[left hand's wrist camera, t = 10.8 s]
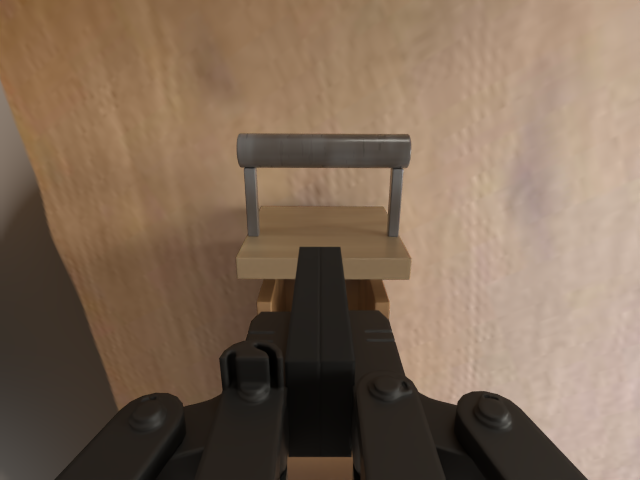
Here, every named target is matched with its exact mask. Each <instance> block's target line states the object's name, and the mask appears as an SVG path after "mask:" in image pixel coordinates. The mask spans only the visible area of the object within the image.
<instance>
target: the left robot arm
mask: <svg viewBox="0 0 640 480" xmlns="http://www.w3.org/2000/svg"><path fill="white" fill-rule="evenodd" d="M219 360H220V369H221V379H222V388H223V391H222V394H220V395H219V396H217V397H215V398H213V399H211V400H208V401H205V402H201V403H197V404H193V405H189V406H185V407H183V403H182V402H181V401H180V400H179V399H178V397H176V396H174V395H171V394H169V393H153V394H149V395H145V396H142V397H140V398H137V399H135V400H133V401H131V402H130V403H128V404H127V405H126V406H125V407H123V408H122V409H121V410H120V411H119V412H118V413H117V414H116V415H115V416H114V417H113V418H112V419H111V420H110V421H109V422H108V424H107V425H106V426H105V427H104V428H103V429H102V430H101V431H100V432H99V433H98V434H97V435H96V436H95V437H94V438H93V439H92V440H91V442H90V443H89V444H88V445H87V446H86V447H85V448H84V449H83V450H82V451H81V452H80V453H79V454H78V455H77V456H76V457H75V459H74V460H73V461H72V462H71V463H70V464H69V465H68V466H67V467H66V468H65V469H64V470H63V471H62V472H61V473H60V474H59V476H58V477H57V478H56V479H55V480H288V472H287V458H288V457H352V456H353V472H352V480H588V479H587V478H586V477H585V476H584V475H583V474H582V473H581V472H580V471H579V470H578V469H577V468H576V467H575V466H574V465H573V463H572V462H571V461H570V460H569V459H568V458H567V457H566V456H565V455H564V454H563V453H562V452H561V451H560V450H559V449H558V448H557V447H556V446H555V444H554V443H553V442H552V441H551V440H550V439H549V438H548V437H547V436H546V435H545V434H544V433H543V432H542V431H541V430H540V429H539V428H538V427H537V426H536V424H535V423H534V422H533V421H532V420H531V419H530V418H529V417H528V416H527V415H526V414H525V413H524V412H523V411H522V410H521V409H520V408H519V407H518V406H517V405H515V404H514V403H513V402H512V401H510V400H508V399H506V398H504V397H502V396H500V395H498V394H494V393H490V392H485V391H475V392H470V393H468V394H465V395H463V396H462V397H461V398H460V400H459V401H458V403H457V405H454V404H449V403H445V402H441V401H437V400H434V399H431V398H428V397H426V396H425V395H423V394H421V393H419V392H418V390H417V388H416V387H415V385H414V383H413V382H412V381H411V380H410V379H408V378H407V377H406V376H405V373H404V370H403V367H402V363H401V360H400V356H399V353H398V350H397V346H396V343H395V340H394V336H393V333H392V329H391V326H390V323H389V320H388V319H387V318H386V317H385V316H384V315H383V314H382V313H381V312H380V311H379V310H349V309H348V301H347V293H346V285H345V278H344V270H343V262H342V255H341V247H299V255H298V262H297V270H296V278H295V285H294V293H293V301H292V309H291V312H260V313H259V314H258V315H257V316H256V317H255V318H254V319H253V320H252V321H251V324H250V328H249V331H248V334H247V338H246V341H242V342H240V343H237V344H234V345H232V346H231V347H229V348H228V349H226V350H225V351H224V352H223V354H222V355H221V357H220V358H219Z"/></svg>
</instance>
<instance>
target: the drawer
mask: <svg viewBox="0 0 640 480" xmlns="http://www.w3.org/2000/svg"><path fill="white" fill-rule="evenodd" d="M410 158H411V139H410V136H409V135H408V134H245V133H240V134H239V135H238V138H237V159H238V163H239V166H240V167H242V168H244V179H245V195H246V211H247V227H248V235H247V237H246V239H245V241H244V243H243V245H242V247H241V249H240V251H239V253H238V255H237V257H236V270H237V279H263V283H262V286H261V290H260V293H259V296H258V300H257V315H258V314H259V313H260V312H291V309H292V301H293V293H294V285H295V278H296V270H297V262H298V255H299V247H341V255H342V262H343V270H344V278H345V285H346V293H347V301H348V309H349V310H379V311H380V312H381V313H382V314H383V315H384V316H385V317H386V318H387V319H388V320H389V309H390V302H389V299H388V296H387V293H386V290H385V287H384V283H383V280H409V279H410V273H411V262H412V259H411V257H410V255H409V253H408V251H407V249H406V247H405V246H404V244H403V242H402V240H401V238H400V236H399V221H400V208H401V196H402V183H403V168H407V167H408V166H409V163H410ZM256 168H391V175H390V190H389V205H388V214H387V212H386V210H385V209H384V207H321V206H262V207H261V208H260V210H259V208H258V189H257V170H256Z"/></svg>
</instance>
